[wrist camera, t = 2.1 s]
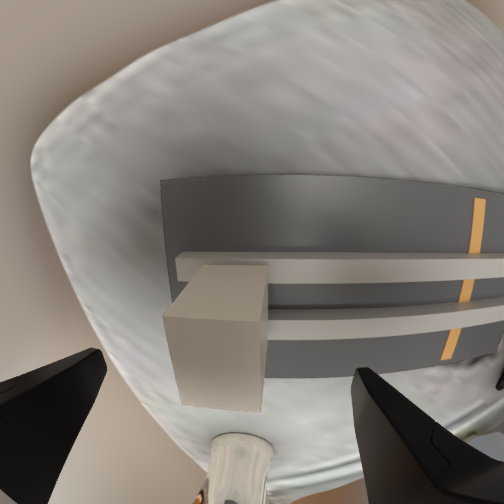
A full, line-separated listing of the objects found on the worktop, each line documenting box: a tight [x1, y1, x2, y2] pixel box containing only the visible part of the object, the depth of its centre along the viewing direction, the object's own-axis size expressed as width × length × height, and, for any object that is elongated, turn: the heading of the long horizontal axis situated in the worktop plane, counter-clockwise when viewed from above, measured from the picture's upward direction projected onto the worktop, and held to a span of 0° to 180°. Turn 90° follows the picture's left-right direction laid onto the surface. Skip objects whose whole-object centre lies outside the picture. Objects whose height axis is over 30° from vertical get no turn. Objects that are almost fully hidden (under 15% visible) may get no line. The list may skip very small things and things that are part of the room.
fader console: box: [160, 175, 504, 378], centre depth 14 cm, size 24×12×3 cm, turn 91°
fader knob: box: [163, 265, 268, 412], centre depth 12 cm, size 3×4×6 cm
